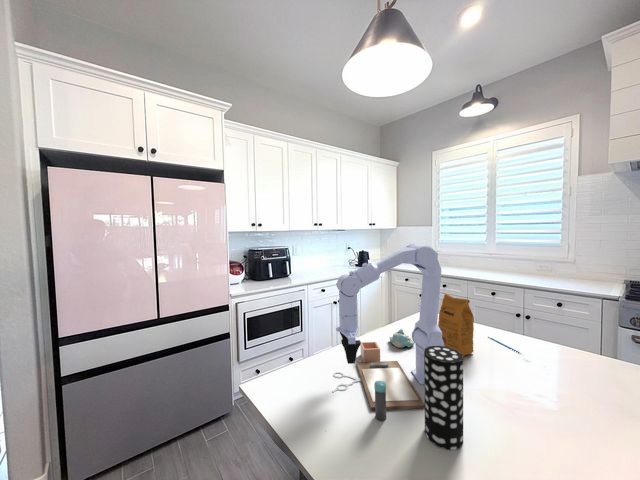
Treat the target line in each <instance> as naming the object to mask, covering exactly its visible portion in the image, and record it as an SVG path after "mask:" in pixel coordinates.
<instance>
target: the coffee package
mask: <svg viewBox="0 0 640 480" xmlns="http://www.w3.org/2000/svg"><path fill="white" fill-rule="evenodd" d="M469 303H471V302H470V300H469V299H468V298H458V297H453V296H451V295H450V294H448V293H444V295H443V299H442V302H441V306H440V309H439V312H438V320H437V324H438V326H439V328H440V330H441V331H442V339H443V342H444V346H445V347H449V348H452V349H455V350H457V351H459V352H460V353H461V354H462V355H463V357H465V356H467V355H470V354H472V353H474V330H475V329H474V322H475V317H474V315H473V312H472V309H471V307H470V305H469Z"/></svg>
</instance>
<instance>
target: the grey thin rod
mask: <svg viewBox="0 0 640 480" xmlns="http://www.w3.org/2000/svg"><path fill="white" fill-rule="evenodd" d="M487 339H490V340H492V341H493V342H495V343H498V344H499V345H501V346H503V347H505V348H506V349H509V350H511V349H512V350H511V351H513V350H514V351H513V352H515V351H516V352H515V353H517V352H518V353H517V354H519V353H521V354H523V353H522V352H520V351H519V350H517V349H514V348H512V347H510V346H508V345H506V344H504V343H503V342H500V341H498V340H496V339H494V338H493V337H491V336H487ZM521 354H520V355H521Z"/></svg>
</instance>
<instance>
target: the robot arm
mask: <svg viewBox="0 0 640 480" xmlns="http://www.w3.org/2000/svg"><path fill="white" fill-rule="evenodd" d="M438 258H439V253H438V251H436V250H435V249H434V248H432V247H431V246H428V245H417V244H409V245H406V246H403V247H401V248H400V249H398V250H397V251H396V252H393V253H392V254H391V255H388V256H387V257H385V258H384V259H382V260H380V261H379V262H377V263H375V264H374V263H371V262H369V263H366V262H364V263H362V264H361V265H362V266H361V267H359V268H357V269H355V270H350V271H348V274H342V275H340V276H339V277H338V279H337V281H336V284H335V285H336V287H337V289H338V315H339V317H338V319H339V321H338V322H339V326H336V327H335V331H336V332H338V333H339V334H340V336H341V342H340V343H341V345H342V347H343V349H344V352H345V358H346V363H347V364H350V365H352V364H355V362H356V360H357V354H358V350H359V348H360V347H361V342H362V341H361V340H359V339H358V340H357V338H356V337H357V335H358V334H359V330H360V329H359V316H358V313H359V312H358V311H359V310H358V306H359V305H358V294H359V292H360V290H361V289H363V288H364V287H367V286H368V285H370V284H372V283H374V282H376V281H379V278H380V276H381V274H383V273H385V272H388V271H389V270H391V269H394V268H396V267H399V266H400V265H402V264H410V265H412V266H415V267H416V269H418V270H419V271H420V272H421V273H422V279H421V294H420V295H421V296H420V305H419V307H420V308H419V318H418V321H416V322H415V323H414V329H412V332H411V340H412V341H414V342H415V343H414V346H415V369H411V373H412V374H413V376H414V377H415V379H416V380H417V381H418V384H420V385H424V350H425V348H427V347H429V346H444V342H443V339H442V331H441V330H440V328H439V326H438V321H439V306H440V305H439V304H440V296H441V295H440V294H441V293H440V292H441V291H440V290H441V280H442V268H441V267H442V266H441V264H440V262H439V259H438Z"/></svg>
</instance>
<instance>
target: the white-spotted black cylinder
mask: <svg viewBox="0 0 640 480" xmlns="http://www.w3.org/2000/svg"><path fill="white" fill-rule="evenodd" d="M423 385H424V404H425V409H424V433H425V436H426V438H427V439H428V440H429V441H430V442H431V443H432V444H434V445H435V446H436V447H438V448H441V449H444V450H448V451H454V450H458V449H460V448H462V447H463V444H464V356H463V355H462V354H461V353H460V352H459V351H457V350H455V349H452V348H449V347H445V346H429V347H427V348H425V350H424V384H423Z"/></svg>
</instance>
